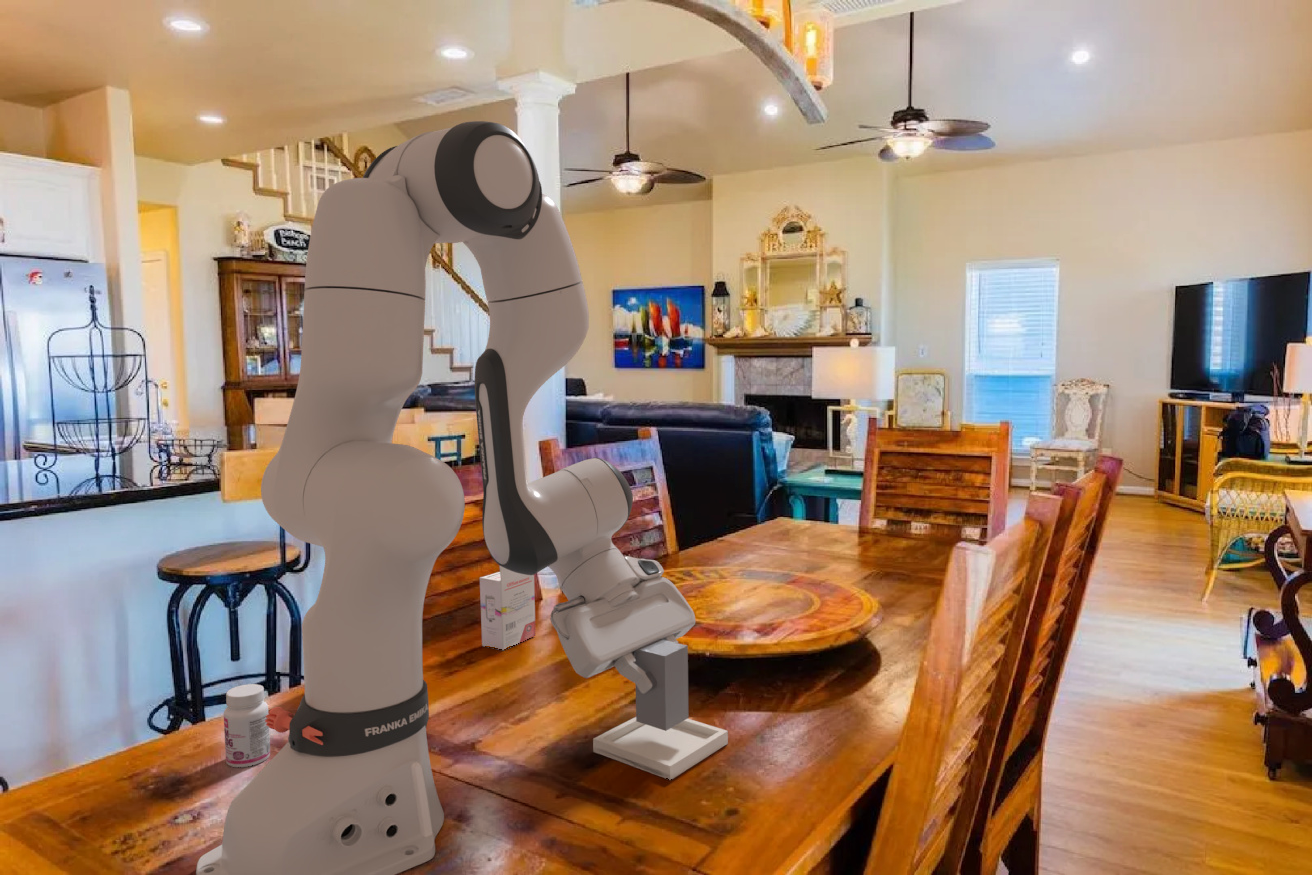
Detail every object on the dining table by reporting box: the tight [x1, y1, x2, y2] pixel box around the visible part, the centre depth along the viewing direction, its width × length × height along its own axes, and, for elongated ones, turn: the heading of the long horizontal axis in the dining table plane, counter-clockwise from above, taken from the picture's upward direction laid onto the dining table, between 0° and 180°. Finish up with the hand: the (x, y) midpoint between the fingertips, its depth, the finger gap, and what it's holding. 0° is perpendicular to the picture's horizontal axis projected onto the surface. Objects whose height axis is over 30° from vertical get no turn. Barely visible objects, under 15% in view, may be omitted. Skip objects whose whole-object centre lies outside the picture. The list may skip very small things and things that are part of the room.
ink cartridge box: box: [479, 565, 536, 651], centre depth 142 cm, size 9×5×15 cm, turn 149°
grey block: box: [634, 639, 690, 731], centre depth 102 cm, size 4×4×9 cm
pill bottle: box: [223, 683, 271, 768], centre depth 100 cm, size 5×5×8 cm
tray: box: [592, 716, 729, 781], centre depth 102 cm, size 12×12×2 cm
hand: (666, 681), depth 101 cm, fingers closed on grey block, 4 cm apart
